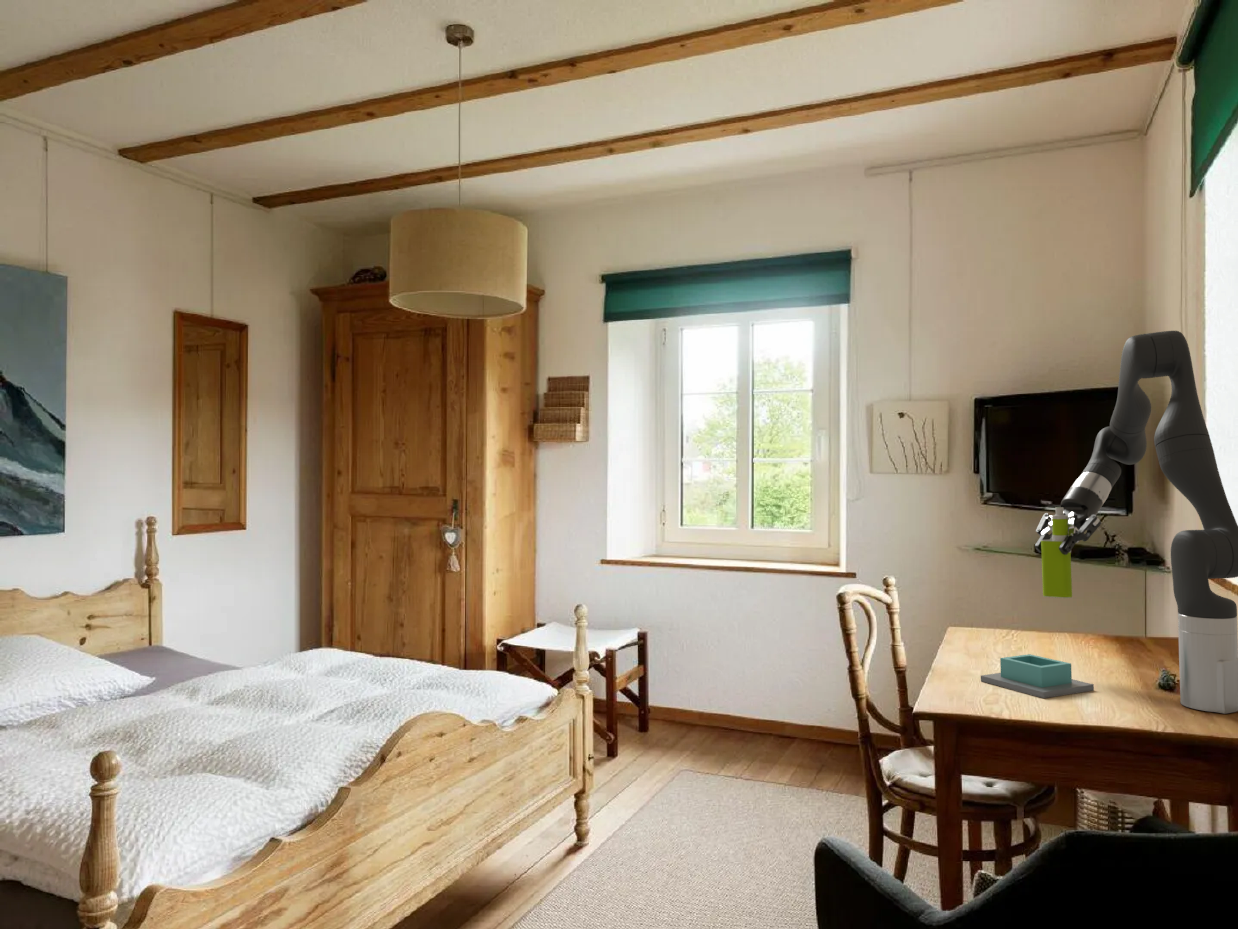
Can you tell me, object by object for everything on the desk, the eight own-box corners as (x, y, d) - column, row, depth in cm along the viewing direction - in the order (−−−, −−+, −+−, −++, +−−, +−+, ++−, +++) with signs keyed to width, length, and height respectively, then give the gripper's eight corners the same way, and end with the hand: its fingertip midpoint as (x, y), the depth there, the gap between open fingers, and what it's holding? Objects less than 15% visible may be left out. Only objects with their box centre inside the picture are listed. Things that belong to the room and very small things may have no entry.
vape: (1070, 598, 188) (1067, 507, 188) (1041, 596, 191) (1038, 507, 192) (1074, 596, 190) (1071, 506, 191) (1045, 594, 194) (1042, 507, 195)
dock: (1093, 690, 174) (1093, 664, 174) (1043, 698, 168) (1042, 672, 169) (1028, 674, 189) (1028, 650, 189) (980, 681, 183) (980, 657, 183)
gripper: (1050, 485, 201) (1014, 538, 196) (1106, 484, 188) (1069, 541, 183) (1067, 507, 203) (1032, 560, 198) (1124, 508, 190) (1087, 565, 185)
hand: (1050, 551), depth 191 cm, fingers closed on vape, 5 cm apart
